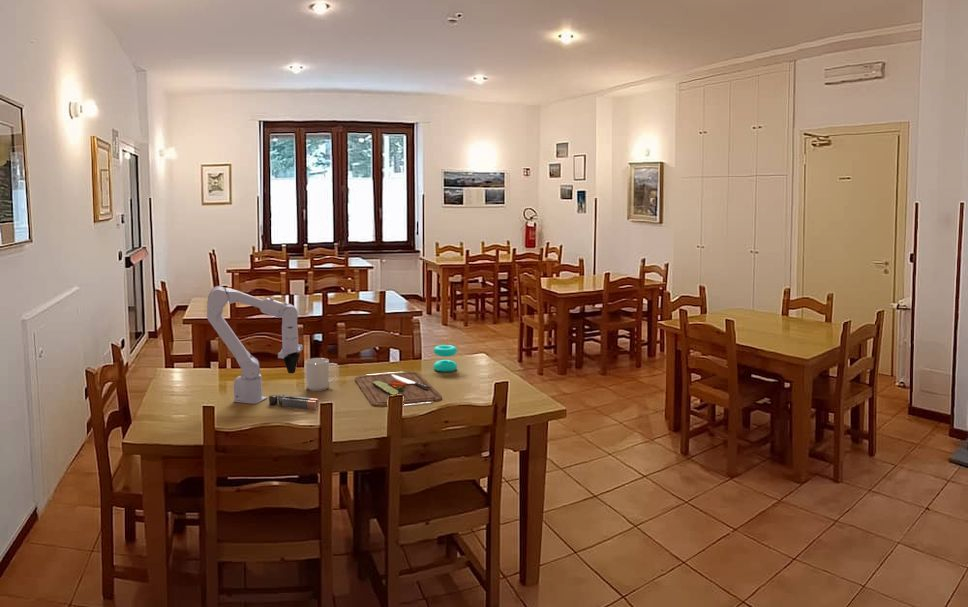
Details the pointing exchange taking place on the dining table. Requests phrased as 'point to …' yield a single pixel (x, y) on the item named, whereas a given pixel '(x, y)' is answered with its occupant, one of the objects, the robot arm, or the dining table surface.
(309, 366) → the mug
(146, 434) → the dining table surface
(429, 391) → the chopping board
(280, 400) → the bar
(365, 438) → the dining table surface
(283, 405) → the base
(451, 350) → the donuts
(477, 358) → the dining table surface
